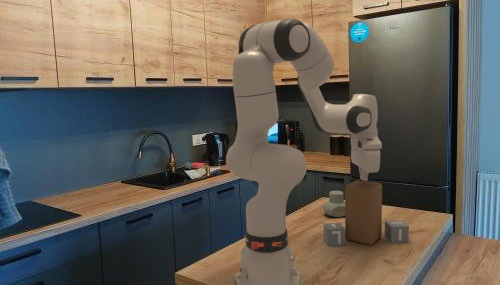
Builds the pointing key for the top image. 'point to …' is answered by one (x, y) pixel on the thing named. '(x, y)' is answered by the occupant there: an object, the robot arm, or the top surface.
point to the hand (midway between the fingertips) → (363, 180)
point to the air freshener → (335, 204)
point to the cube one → (396, 231)
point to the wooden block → (363, 212)
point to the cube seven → (334, 234)
